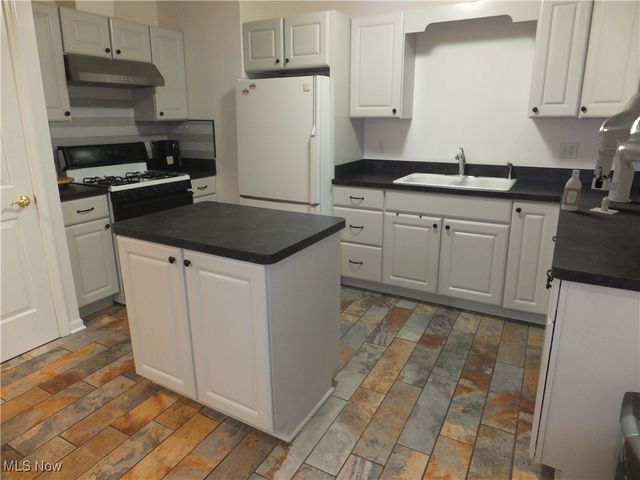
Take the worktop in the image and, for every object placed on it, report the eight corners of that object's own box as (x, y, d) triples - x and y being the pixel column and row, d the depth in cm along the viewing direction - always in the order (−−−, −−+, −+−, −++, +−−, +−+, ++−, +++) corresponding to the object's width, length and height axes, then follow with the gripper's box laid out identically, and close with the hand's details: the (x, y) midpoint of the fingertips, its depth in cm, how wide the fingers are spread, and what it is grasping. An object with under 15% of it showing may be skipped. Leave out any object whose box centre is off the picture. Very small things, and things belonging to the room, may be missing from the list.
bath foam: (560, 210, 217) (568, 170, 211) (561, 207, 223) (568, 168, 217) (576, 211, 214) (584, 171, 208) (576, 209, 219) (584, 170, 214)
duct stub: (596, 208, 223) (599, 196, 222) (618, 211, 216) (621, 199, 214) (589, 210, 217) (591, 198, 215) (611, 214, 210) (614, 201, 208)
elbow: (591, 188, 228) (593, 178, 227) (595, 186, 232) (597, 176, 230) (616, 191, 220) (618, 181, 218) (620, 190, 224) (623, 179, 222)
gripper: (604, 150, 230) (598, 184, 236) (592, 154, 220) (586, 188, 225) (621, 152, 224) (614, 186, 230) (608, 155, 214) (602, 190, 220)
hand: (600, 186), depth 228 cm, fingers closed on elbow, 6 cm apart
